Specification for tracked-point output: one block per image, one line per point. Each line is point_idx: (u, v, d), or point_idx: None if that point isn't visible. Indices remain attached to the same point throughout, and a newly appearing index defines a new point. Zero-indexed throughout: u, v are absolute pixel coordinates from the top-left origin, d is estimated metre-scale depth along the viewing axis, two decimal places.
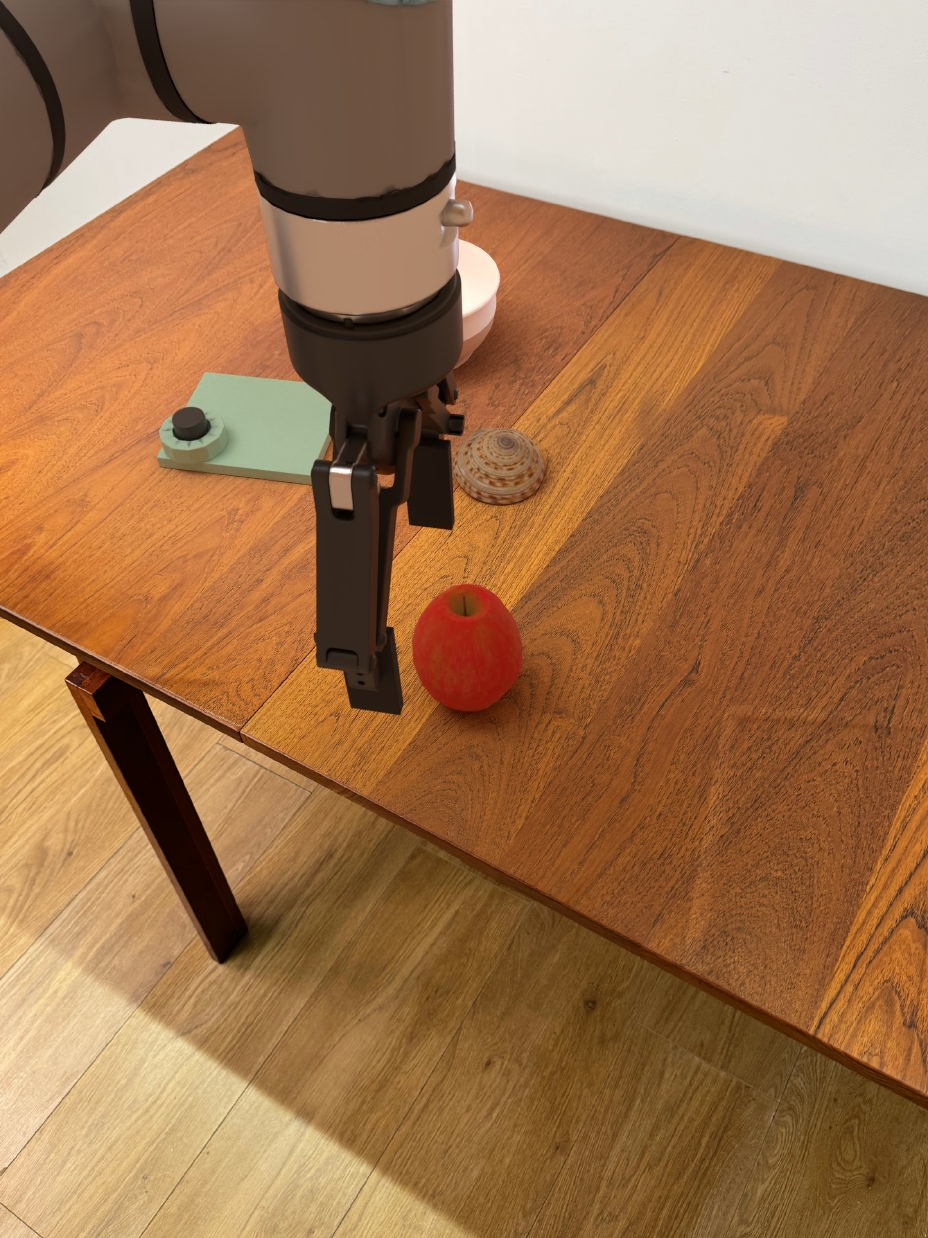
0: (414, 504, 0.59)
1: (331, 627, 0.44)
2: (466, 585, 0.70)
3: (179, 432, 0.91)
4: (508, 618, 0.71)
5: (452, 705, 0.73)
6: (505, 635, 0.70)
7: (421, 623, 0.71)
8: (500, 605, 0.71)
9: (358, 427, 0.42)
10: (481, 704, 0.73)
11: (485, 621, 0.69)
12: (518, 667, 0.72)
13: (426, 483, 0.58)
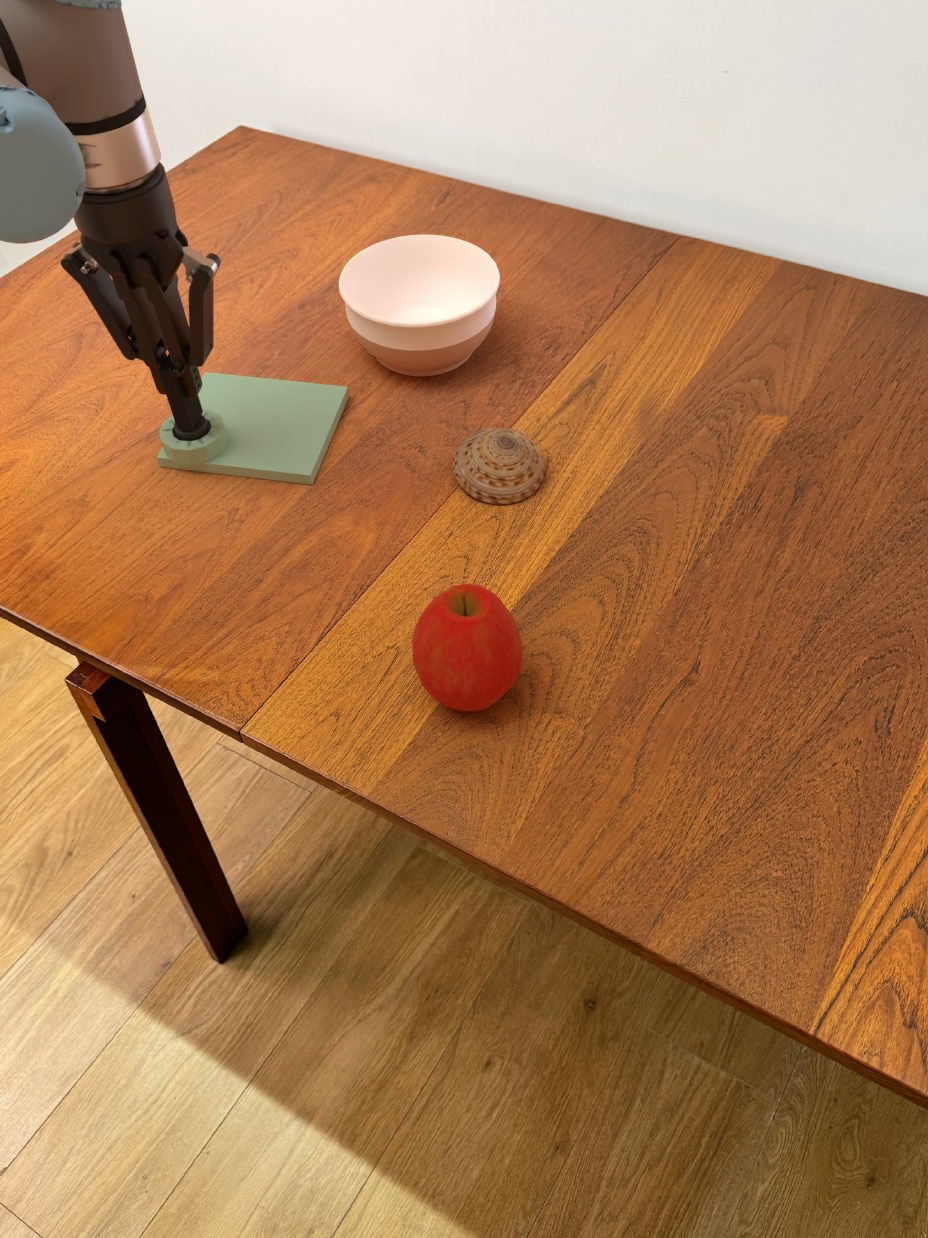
0: None
1: None
2: (466, 585, 0.70)
3: (181, 438, 0.92)
4: (508, 618, 0.71)
5: (452, 705, 0.73)
6: (505, 635, 0.70)
7: (421, 623, 0.71)
8: (500, 605, 0.71)
9: None
10: (481, 704, 0.73)
11: (485, 621, 0.69)
12: (518, 667, 0.72)
13: None
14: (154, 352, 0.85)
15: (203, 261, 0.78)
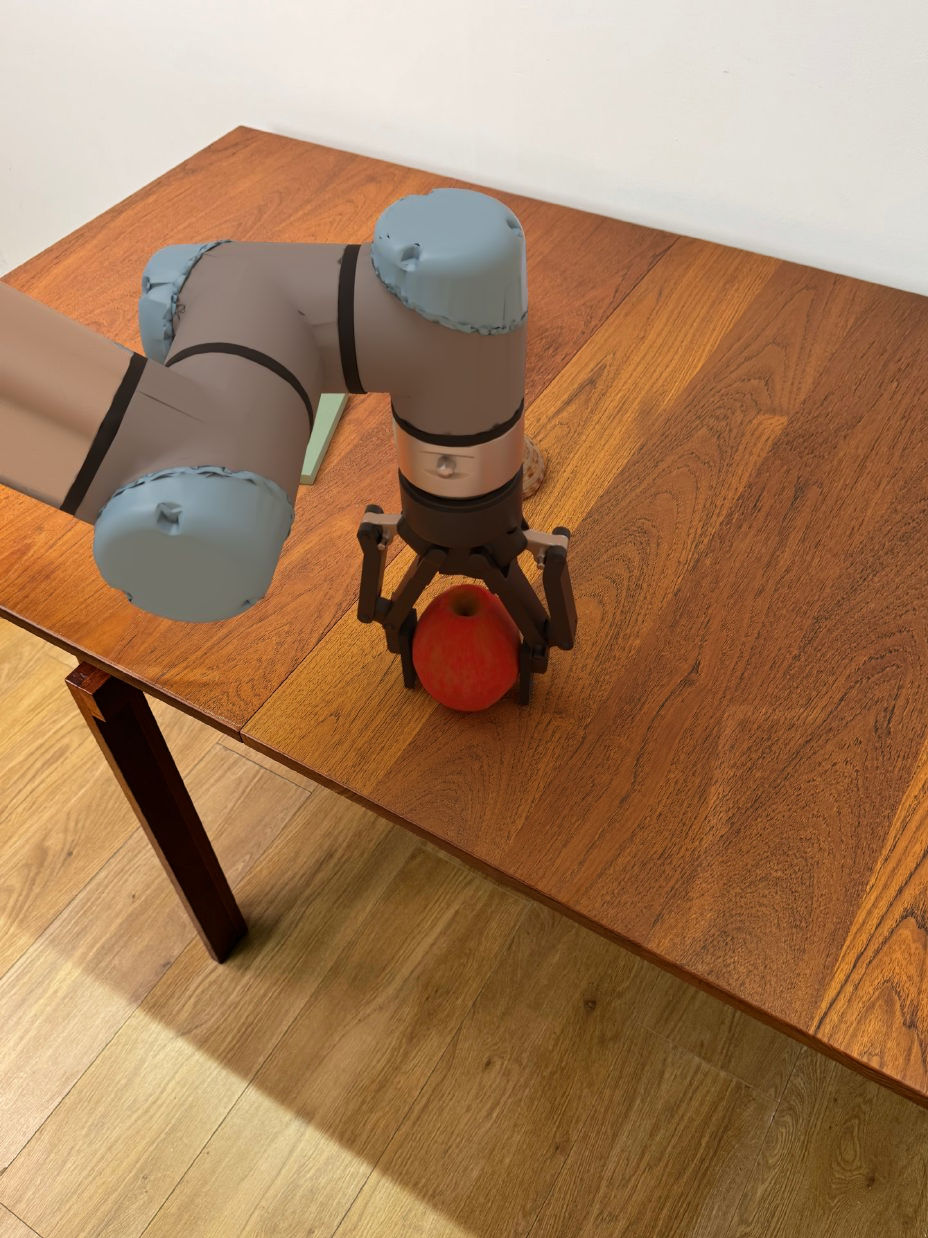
0: None
1: None
2: (466, 585, 0.70)
3: None
4: (508, 618, 0.71)
5: (452, 705, 0.73)
6: (505, 635, 0.70)
7: (421, 623, 0.71)
8: (500, 605, 0.71)
9: None
10: (481, 704, 0.73)
11: (486, 621, 0.69)
12: (518, 667, 0.72)
13: None
14: (402, 621, 0.71)
15: (552, 541, 0.63)
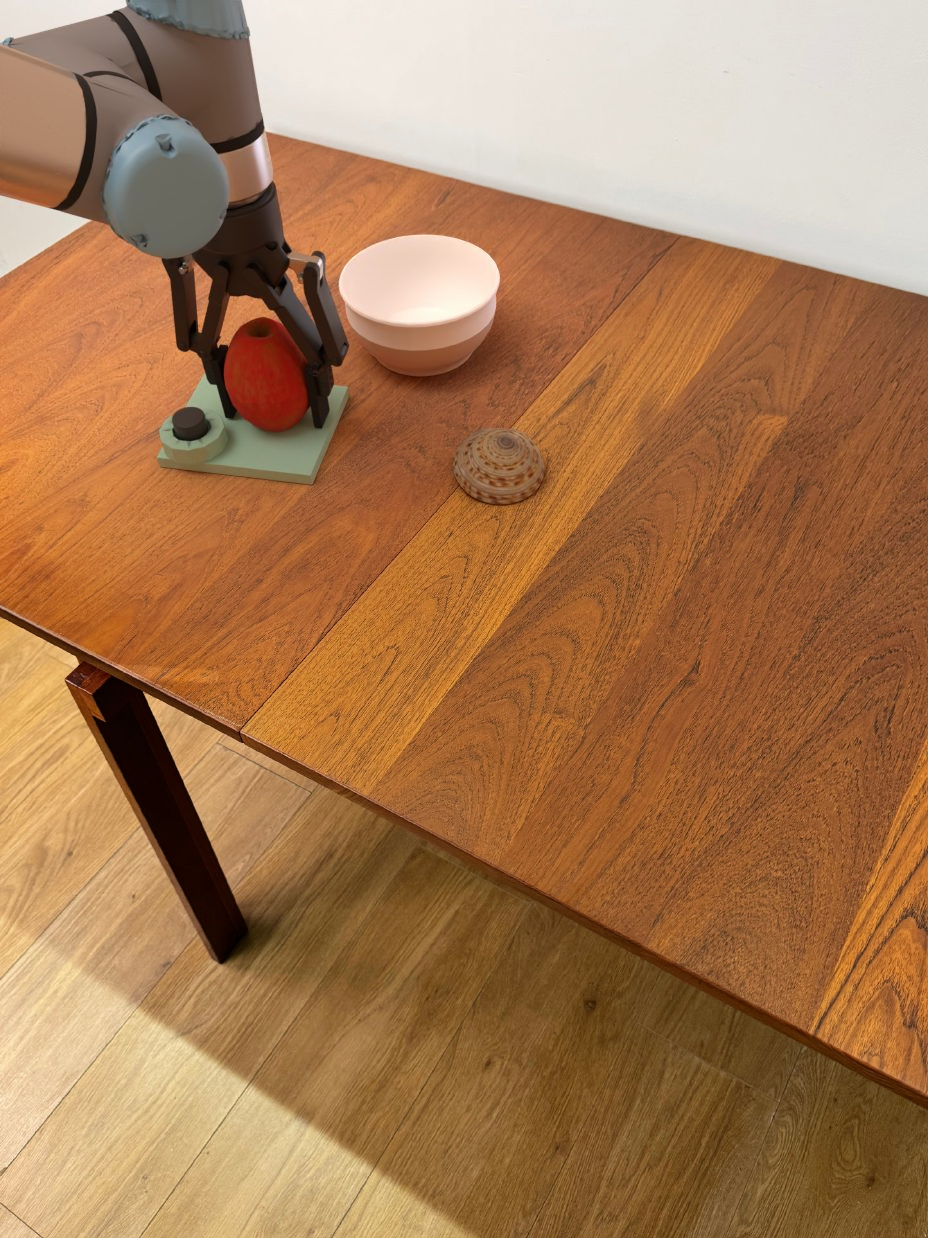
0: None
1: None
2: (261, 317, 0.89)
3: (179, 432, 0.91)
4: (295, 345, 0.90)
5: (256, 420, 0.92)
6: (291, 356, 0.89)
7: None
8: (288, 334, 0.90)
9: None
10: (279, 419, 0.92)
11: (273, 341, 0.88)
12: None
13: None
14: (211, 347, 0.90)
15: (307, 259, 0.82)
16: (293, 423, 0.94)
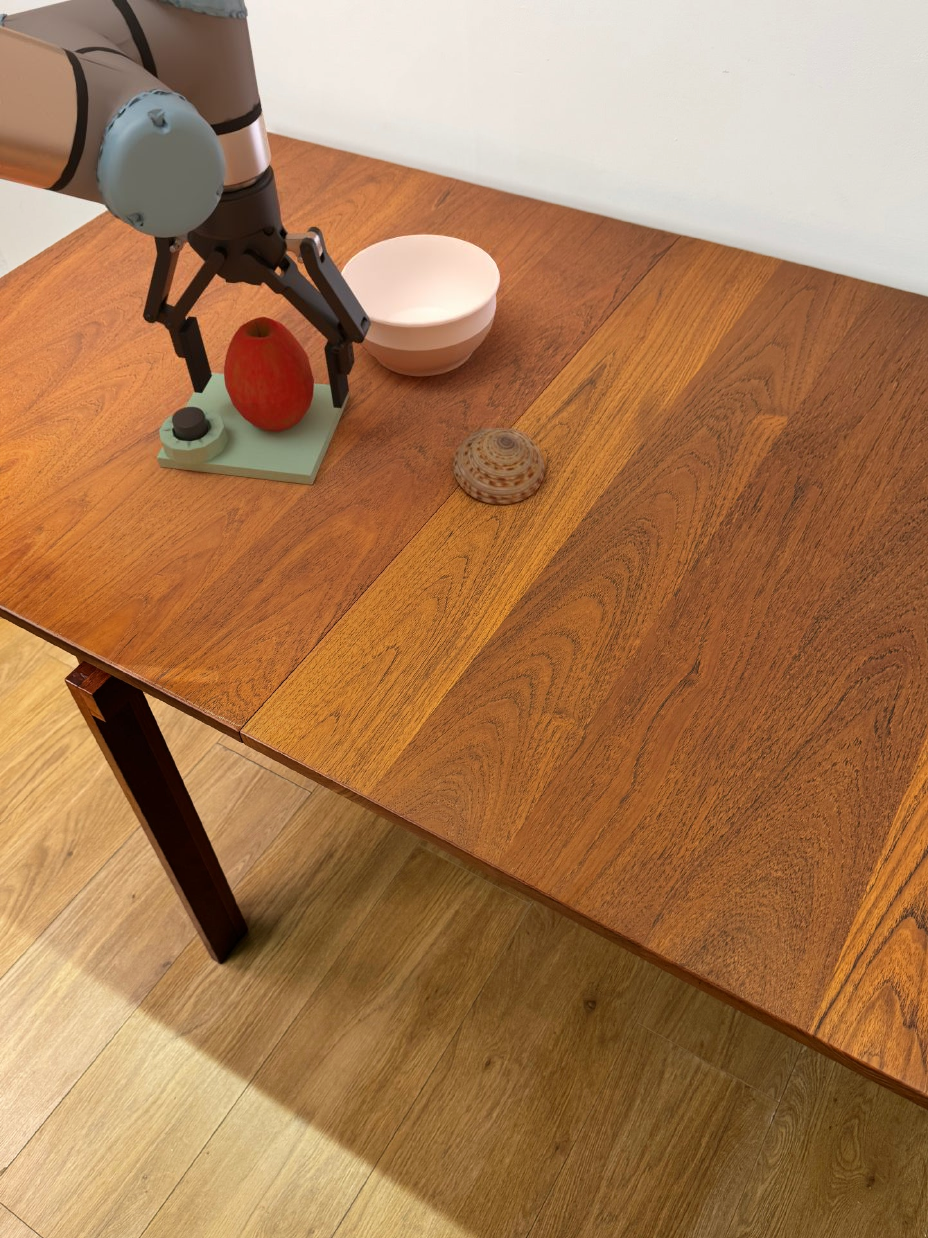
0: None
1: None
2: (261, 317, 0.89)
3: (179, 432, 0.91)
4: (295, 345, 0.90)
5: (256, 420, 0.92)
6: (291, 356, 0.89)
7: None
8: (288, 334, 0.90)
9: None
10: (279, 419, 0.92)
11: (273, 341, 0.88)
12: (307, 388, 0.91)
13: None
14: (181, 322, 0.88)
15: (303, 237, 0.80)
16: (293, 423, 0.94)
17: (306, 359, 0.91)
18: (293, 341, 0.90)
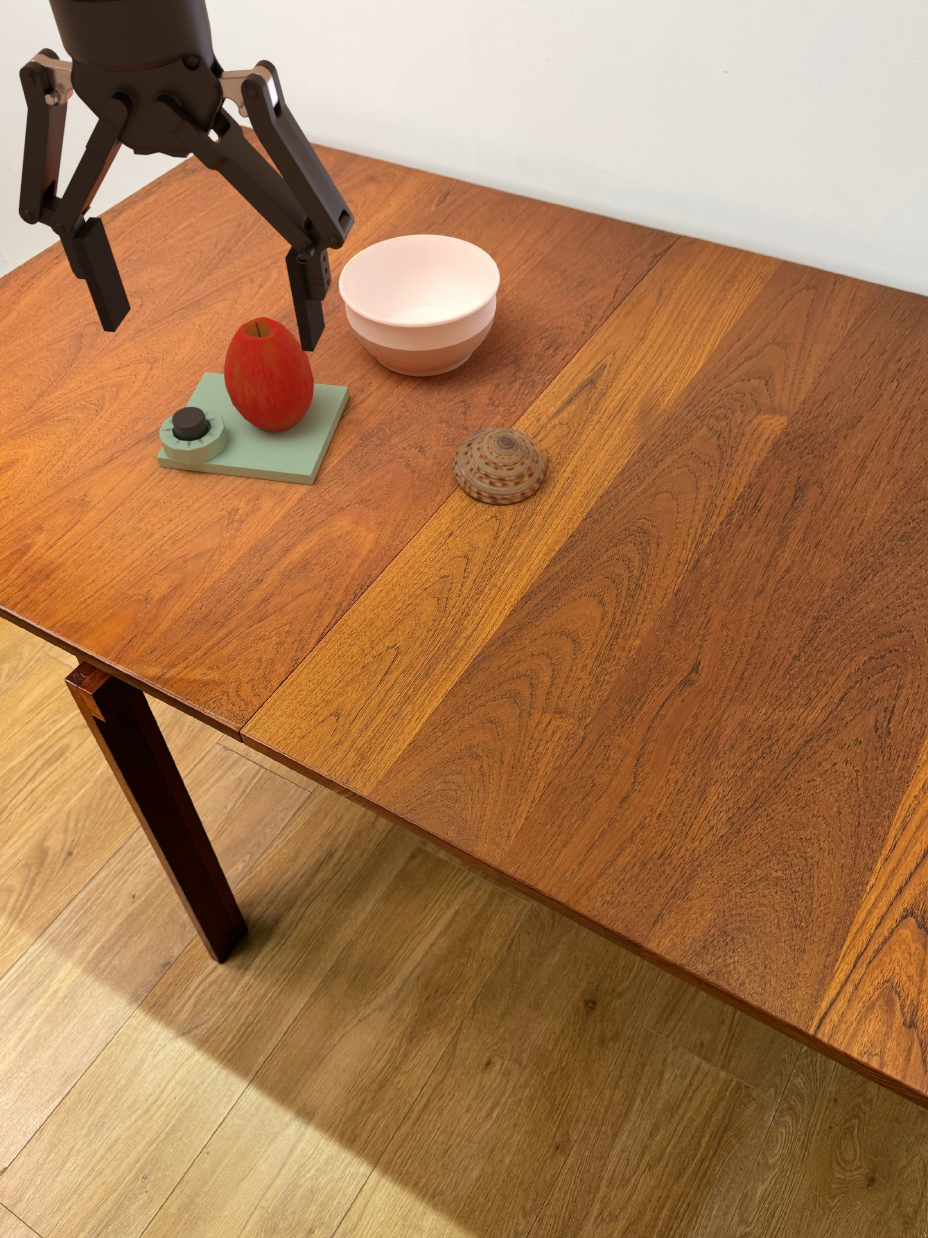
0: None
1: None
2: (261, 317, 0.89)
3: (179, 432, 0.91)
4: (295, 344, 0.90)
5: (256, 420, 0.92)
6: (291, 356, 0.89)
7: None
8: (288, 334, 0.90)
9: None
10: (279, 419, 0.92)
11: (273, 341, 0.88)
12: (307, 388, 0.91)
13: None
14: (75, 221, 0.60)
15: (246, 74, 0.52)
16: (293, 423, 0.94)
17: (306, 359, 0.91)
18: (293, 341, 0.90)
